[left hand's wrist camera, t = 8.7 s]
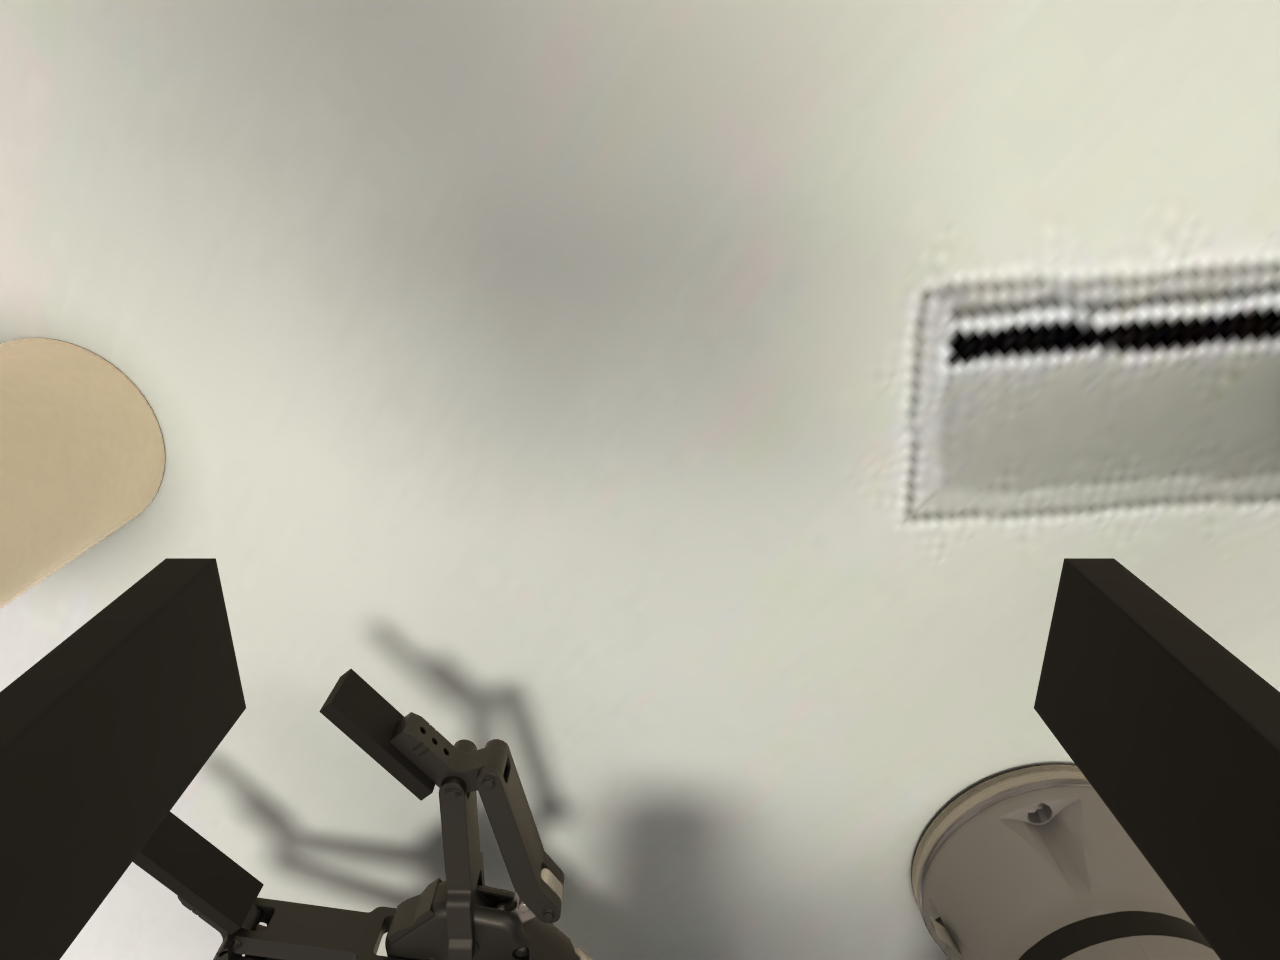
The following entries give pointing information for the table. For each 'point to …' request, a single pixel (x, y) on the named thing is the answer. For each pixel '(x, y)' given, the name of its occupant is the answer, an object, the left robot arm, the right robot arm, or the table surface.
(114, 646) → the left robot arm
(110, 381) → the jar
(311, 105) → the table surface
